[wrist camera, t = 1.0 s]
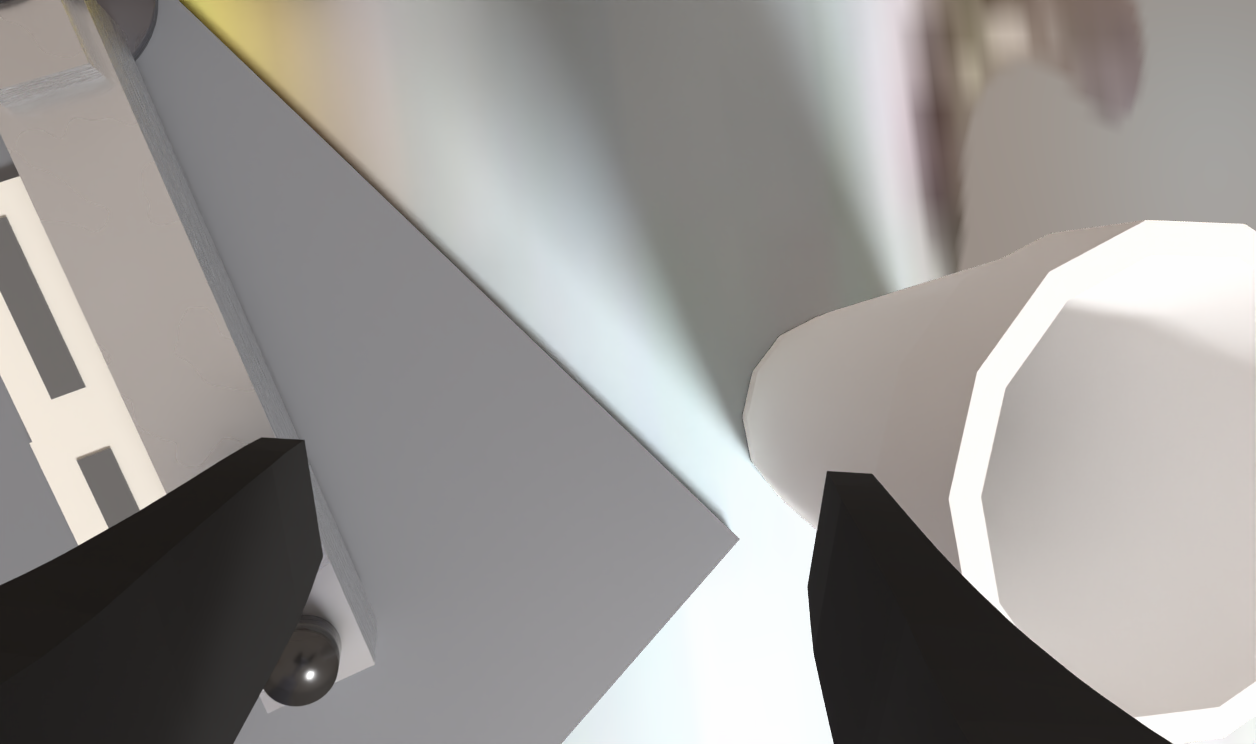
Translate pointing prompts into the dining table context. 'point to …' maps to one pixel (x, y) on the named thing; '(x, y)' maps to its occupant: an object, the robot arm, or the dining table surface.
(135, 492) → the label
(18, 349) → the label
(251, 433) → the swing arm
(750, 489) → the dining table surface
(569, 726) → the board
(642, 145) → the dining table surface
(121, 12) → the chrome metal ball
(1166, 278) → the foam cup
